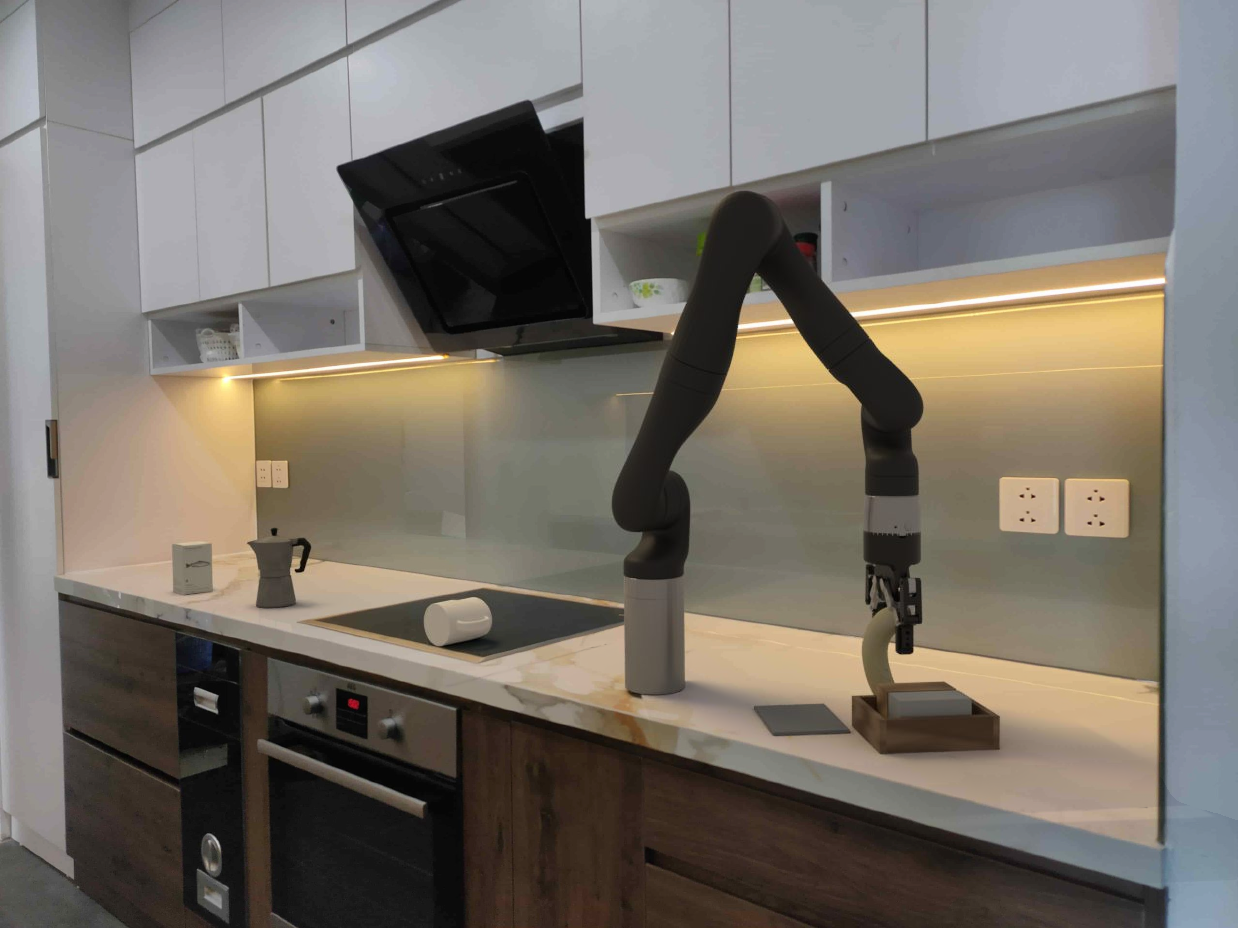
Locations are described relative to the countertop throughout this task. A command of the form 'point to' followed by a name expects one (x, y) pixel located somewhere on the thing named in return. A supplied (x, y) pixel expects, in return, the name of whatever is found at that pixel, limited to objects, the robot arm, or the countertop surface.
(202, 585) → the supplement box
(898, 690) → the offcut teak
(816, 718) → the mat
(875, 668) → the fruit
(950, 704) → the offcut grey
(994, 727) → the wooden tray
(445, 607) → the mug
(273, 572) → the coffeepot
